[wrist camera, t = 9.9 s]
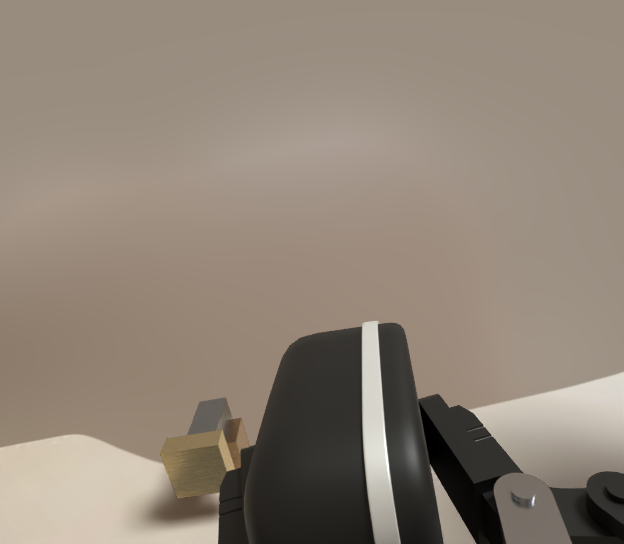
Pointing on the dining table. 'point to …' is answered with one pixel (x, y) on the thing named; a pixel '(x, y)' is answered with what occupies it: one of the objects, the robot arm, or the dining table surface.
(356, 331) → the battery charger
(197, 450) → the set of rectangular blocks
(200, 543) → the dining table surface
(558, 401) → the dining table surface
